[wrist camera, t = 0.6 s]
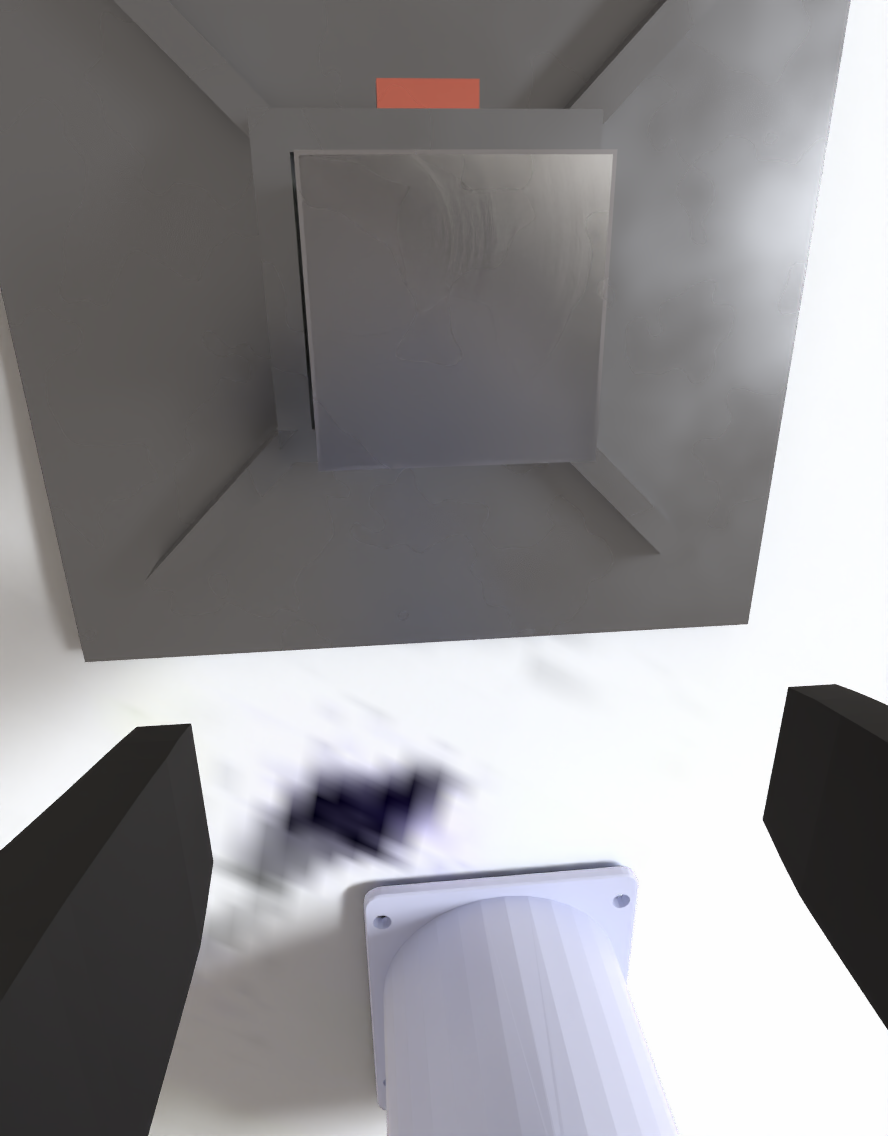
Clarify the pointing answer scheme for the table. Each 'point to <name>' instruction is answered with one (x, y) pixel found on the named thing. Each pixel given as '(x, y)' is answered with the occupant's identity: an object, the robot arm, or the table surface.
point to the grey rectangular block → (455, 303)
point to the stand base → (279, 324)
